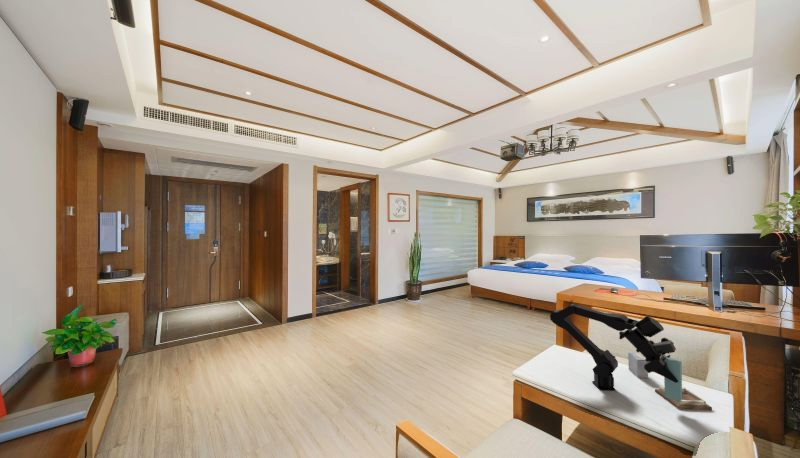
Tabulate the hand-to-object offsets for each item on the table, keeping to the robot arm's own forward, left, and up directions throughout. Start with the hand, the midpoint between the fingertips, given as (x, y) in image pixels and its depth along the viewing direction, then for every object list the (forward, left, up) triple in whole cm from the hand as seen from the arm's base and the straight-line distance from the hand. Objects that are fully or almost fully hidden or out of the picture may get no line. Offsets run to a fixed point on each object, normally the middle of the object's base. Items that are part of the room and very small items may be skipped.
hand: (678, 379), depth 113 cm
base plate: (+7, +8, -12) cm, 16 cm away
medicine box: (+4, +29, -13) cm, 32 cm away
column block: (-1, +1, -7) cm, 7 cm away
